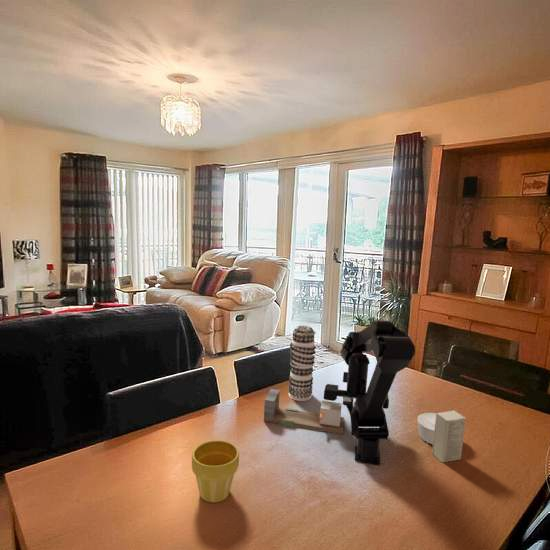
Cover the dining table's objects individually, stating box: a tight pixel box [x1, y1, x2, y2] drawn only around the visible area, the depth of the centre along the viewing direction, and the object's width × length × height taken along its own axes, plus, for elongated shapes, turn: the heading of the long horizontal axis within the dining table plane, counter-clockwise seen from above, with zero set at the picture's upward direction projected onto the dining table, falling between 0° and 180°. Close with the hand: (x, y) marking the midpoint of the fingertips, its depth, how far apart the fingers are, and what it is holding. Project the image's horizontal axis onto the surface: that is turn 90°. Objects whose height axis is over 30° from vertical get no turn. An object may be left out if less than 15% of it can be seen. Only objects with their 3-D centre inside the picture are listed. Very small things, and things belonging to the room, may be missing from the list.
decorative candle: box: [287, 325, 317, 402], centre depth 134 cm, size 9×9×25 cm
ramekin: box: [416, 412, 437, 446], centre depth 112 cm, size 11×11×5 cm
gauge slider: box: [319, 400, 343, 427], centre depth 115 cm, size 8×6×5 cm
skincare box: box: [431, 409, 467, 463], centre depth 103 cm, size 6×4×12 cm
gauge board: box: [263, 388, 345, 435], centre depth 118 cm, size 9×24×7 cm, turn 77°
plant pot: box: [191, 439, 240, 504], centre depth 86 cm, size 10×10×10 cm
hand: (353, 422), depth 115 cm, fingers closed
